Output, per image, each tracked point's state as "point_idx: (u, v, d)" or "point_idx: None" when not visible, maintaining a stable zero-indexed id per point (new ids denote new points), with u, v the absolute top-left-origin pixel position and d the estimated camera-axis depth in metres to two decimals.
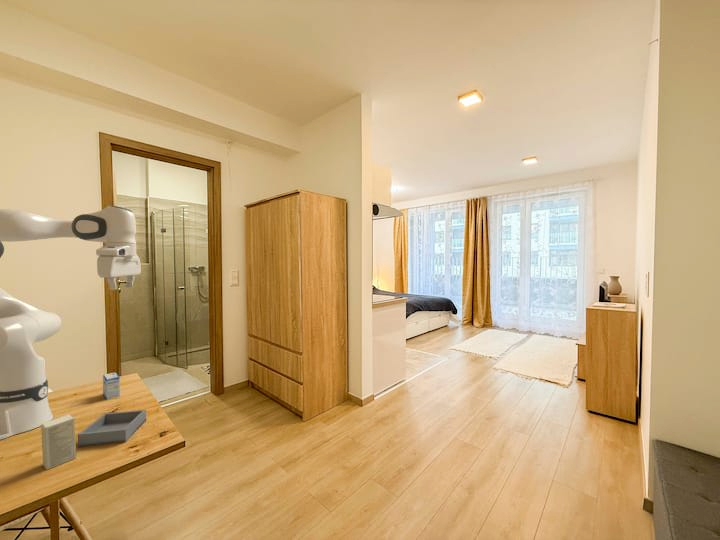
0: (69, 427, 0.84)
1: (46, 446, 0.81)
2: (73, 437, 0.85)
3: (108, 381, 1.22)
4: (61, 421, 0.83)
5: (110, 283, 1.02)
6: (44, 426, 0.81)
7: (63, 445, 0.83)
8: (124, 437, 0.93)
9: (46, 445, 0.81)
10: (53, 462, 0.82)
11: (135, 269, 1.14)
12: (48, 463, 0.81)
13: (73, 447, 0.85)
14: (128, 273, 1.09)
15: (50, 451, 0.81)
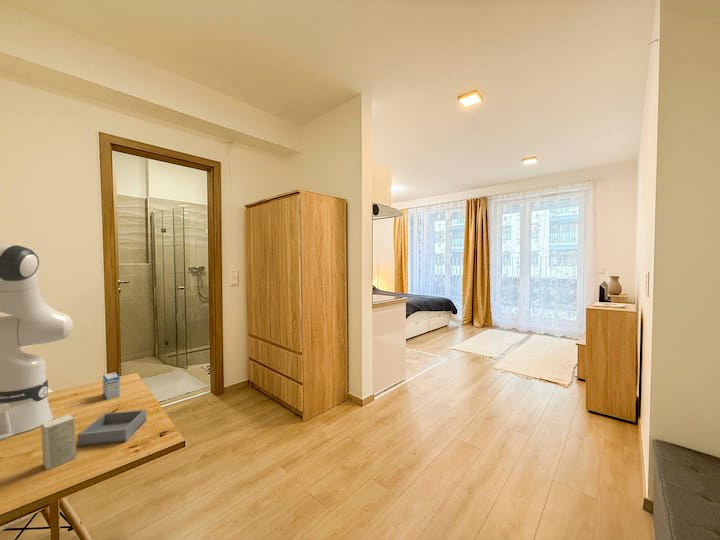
0: (68, 427, 0.84)
1: (46, 446, 0.81)
2: (73, 437, 0.85)
3: (108, 381, 1.22)
4: (61, 421, 0.83)
5: None
6: (44, 426, 0.81)
7: (63, 445, 0.83)
8: (124, 437, 0.93)
9: (46, 445, 0.81)
10: (53, 462, 0.82)
11: None
12: (48, 463, 0.81)
13: (73, 447, 0.85)
14: None
15: (50, 451, 0.81)
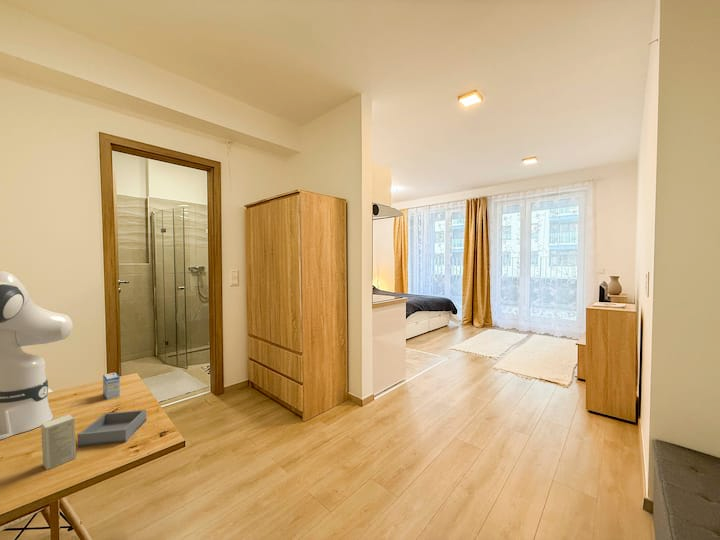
0: (69, 427, 0.84)
1: (46, 446, 0.81)
2: (73, 437, 0.85)
3: (108, 381, 1.22)
4: (61, 421, 0.83)
5: None
6: (44, 426, 0.81)
7: (63, 445, 0.83)
8: (124, 437, 0.93)
9: (46, 445, 0.81)
10: (53, 462, 0.82)
11: None
12: (48, 463, 0.81)
13: (73, 447, 0.85)
14: None
15: (50, 451, 0.81)
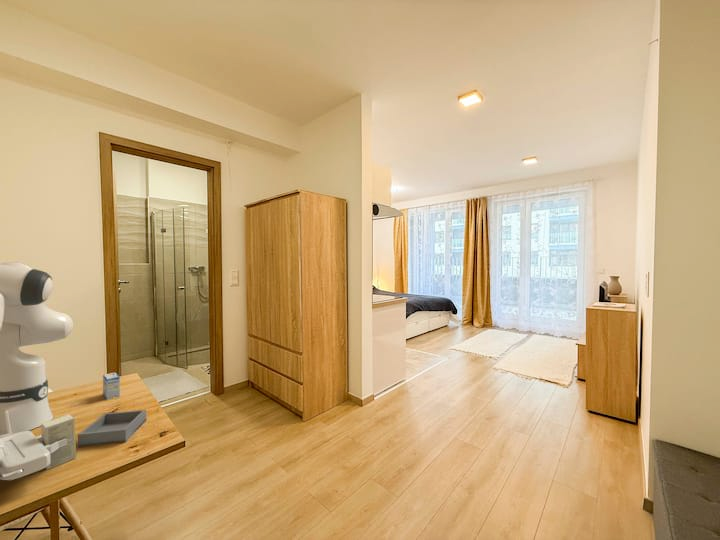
0: (68, 427, 0.84)
1: None
2: (73, 437, 0.85)
3: (108, 381, 1.22)
4: (61, 421, 0.83)
5: None
6: (44, 426, 0.81)
7: None
8: (124, 437, 0.93)
9: None
10: (53, 462, 0.82)
11: None
12: None
13: (73, 447, 0.85)
14: None
15: None
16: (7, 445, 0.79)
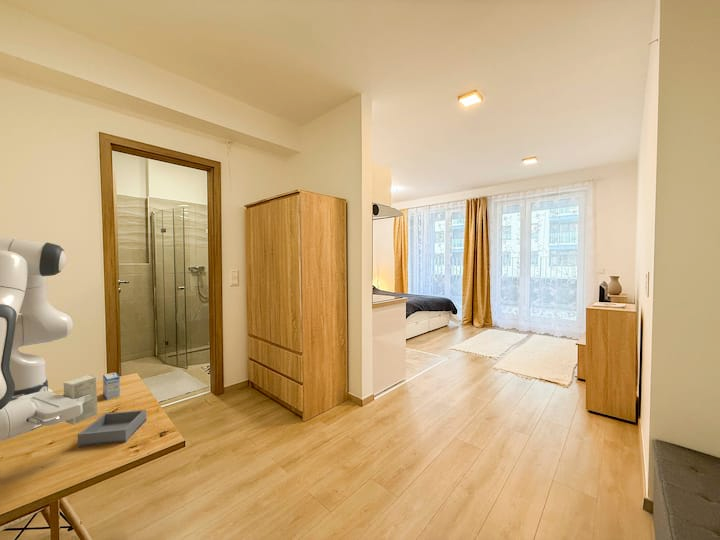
0: (91, 385, 0.89)
1: None
2: (95, 395, 0.90)
3: (108, 381, 1.22)
4: (84, 379, 0.88)
5: None
6: (69, 383, 0.85)
7: (87, 402, 0.88)
8: (124, 437, 0.93)
9: None
10: (78, 418, 0.86)
11: None
12: (74, 418, 0.86)
13: (95, 404, 0.90)
14: None
15: None
16: None
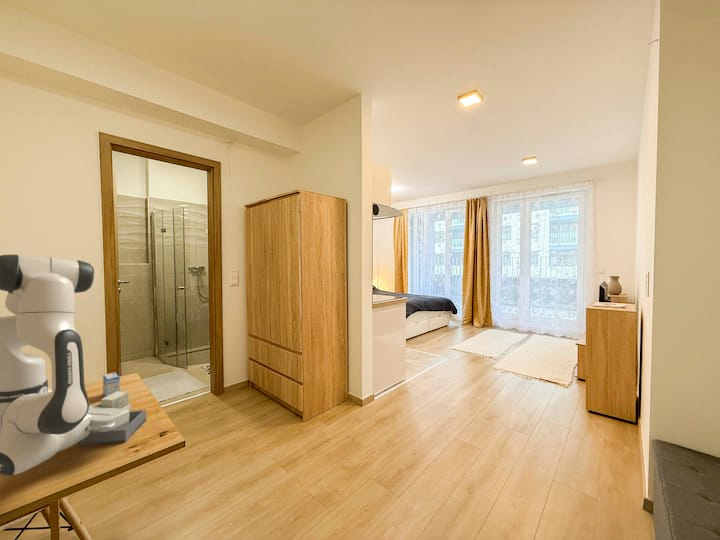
0: (125, 399, 1.00)
1: None
2: None
3: (108, 381, 1.22)
4: (119, 395, 0.98)
5: None
6: (109, 399, 0.95)
7: None
8: (124, 437, 0.93)
9: None
10: None
11: None
12: None
13: None
14: None
15: None
16: None
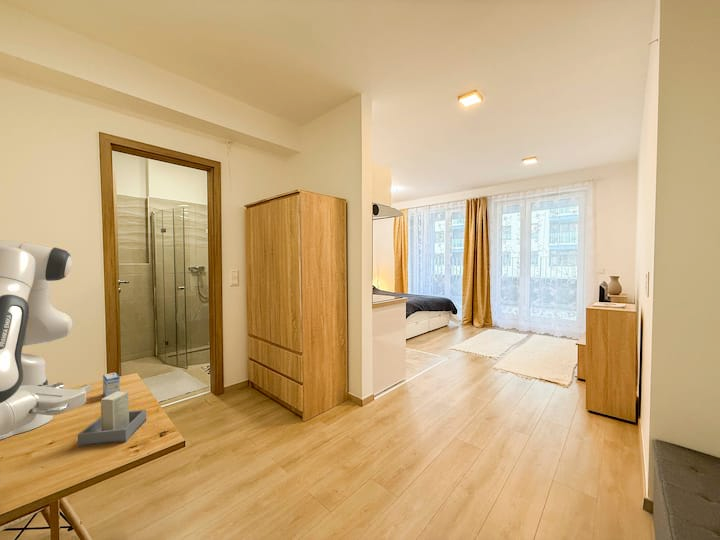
0: (125, 399, 1.00)
1: (112, 415, 0.95)
2: (128, 408, 1.01)
3: (108, 381, 1.22)
4: (119, 395, 0.98)
5: None
6: (109, 399, 0.95)
7: (122, 415, 0.98)
8: (124, 437, 0.93)
9: (112, 414, 0.95)
10: None
11: None
12: None
13: (127, 416, 1.01)
14: None
15: (115, 419, 0.96)
16: None
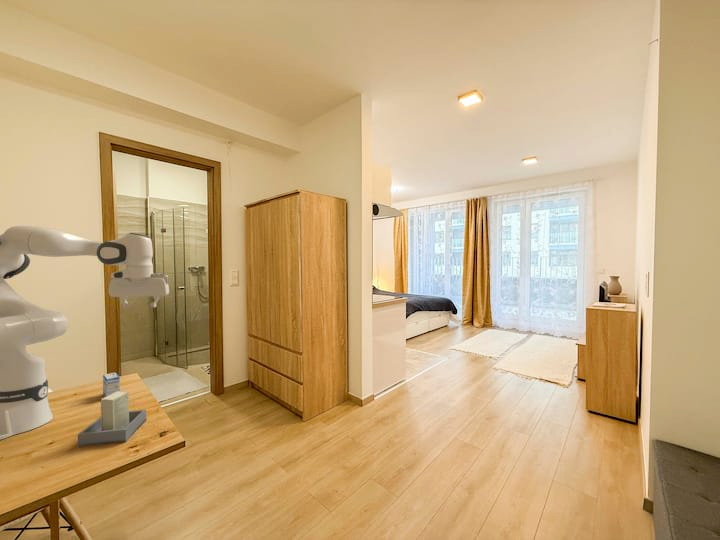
0: (125, 399, 1.00)
1: (112, 415, 0.95)
2: (128, 408, 1.01)
3: (108, 381, 1.22)
4: (119, 395, 0.98)
5: None
6: (109, 399, 0.95)
7: (122, 415, 0.98)
8: (124, 437, 0.93)
9: (112, 414, 0.95)
10: None
11: (153, 290, 1.18)
12: None
13: (127, 416, 1.01)
14: (140, 294, 1.17)
15: (115, 419, 0.96)
16: None
